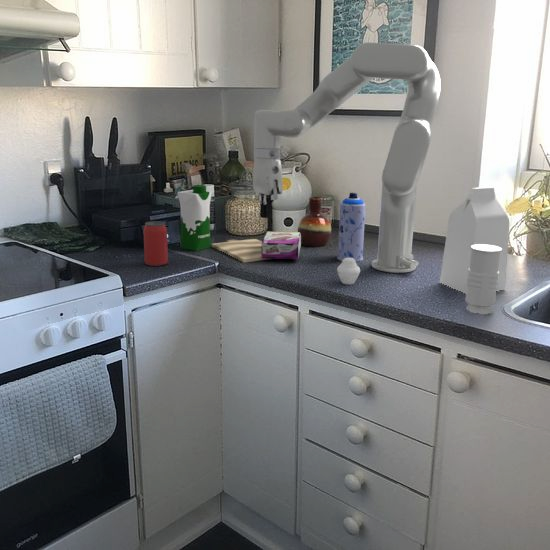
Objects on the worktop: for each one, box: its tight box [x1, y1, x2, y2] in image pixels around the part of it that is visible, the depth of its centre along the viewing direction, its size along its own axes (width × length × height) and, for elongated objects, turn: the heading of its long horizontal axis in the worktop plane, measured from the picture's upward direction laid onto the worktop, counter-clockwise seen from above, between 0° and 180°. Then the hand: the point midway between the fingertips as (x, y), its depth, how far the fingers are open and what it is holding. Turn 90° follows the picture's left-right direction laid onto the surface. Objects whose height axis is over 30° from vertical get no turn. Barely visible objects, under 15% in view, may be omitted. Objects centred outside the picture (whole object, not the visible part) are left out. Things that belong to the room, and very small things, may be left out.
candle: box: [464, 244, 502, 315], centre depth 143 cm, size 7×7×15 cm
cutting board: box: [211, 238, 272, 263], centre depth 196 cm, size 24×16×1 cm, turn 31°
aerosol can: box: [336, 192, 366, 263], centre depth 186 cm, size 8×8×20 cm
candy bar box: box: [261, 230, 302, 260], centre depth 190 cm, size 11×5×16 cm
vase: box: [297, 196, 332, 247], centre depth 204 cm, size 11×11×15 cm
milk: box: [439, 186, 510, 295], centre depth 159 cm, size 12×12×26 cm
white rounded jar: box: [336, 257, 361, 285], centre depth 163 cm, size 6×6×7 cm
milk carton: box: [177, 184, 213, 252], centre depth 196 cm, size 9×9×20 cm
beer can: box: [142, 220, 169, 267], centre depth 178 cm, size 7×7×12 cm
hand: (266, 217), depth 183 cm, fingers closed
